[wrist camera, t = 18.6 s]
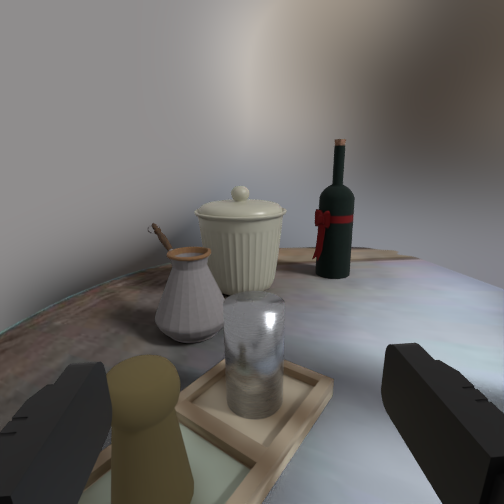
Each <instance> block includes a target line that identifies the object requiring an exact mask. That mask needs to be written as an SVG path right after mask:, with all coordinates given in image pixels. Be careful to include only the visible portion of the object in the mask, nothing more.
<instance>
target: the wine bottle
mask: <svg viewBox="0 0 504 504" xmlns="http://www.w3.org/2000/svg"><path fill="white" fill-rule="evenodd" d="M345 141H346V140H345V139H337V140H335V149H334V166H333V184H332V185H330V186H328V187H327V188H326V189H325V190H324V191H323V192H322V193H321V195H320V200H319V210H318V209H316V211H315V226H318V235H317V243H316V250H315V253H314V256H313V259H314V258H315V257H316V274H317V275H319V276H321V277H325V278H330V279H340V278H346V277H347V276H349V272H350V258H351V243H352V228H353V214H354V195H353V193H352V191H351V190H350V189H349V188H348V187H346V186H344V185H343V172H344V157H345Z"/></svg>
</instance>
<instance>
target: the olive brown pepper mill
mask: <svg viewBox="0 0 504 504" xmlns="http://www.w3.org/2000/svg"><path fill="white" fill-rule="evenodd" d="M106 377H107V382H108V388H109V393H110V398H111V403H112V422H111V426H112V436H111V504H190V503H191V500H192V497H193V494H194V479H193V475H192V472H191V468H190V464H189V460H188V456H187V452H186V449H185V445H184V441H183V437H182V433H181V429H180V425H179V422H178V418H177V414H176V410H175V406H176V404H177V403H178V399H179V394H180V378H179V375H178V373H177V370H176V368H175V366H174V365H173V364H172V363H171V362H170V361H169V360H167V359H166V358H164V357H161V356H158V355H140V356H136V357H132V358H129V359H127V360H124V361H122V362H120V363H119V364H117V365H116V366H114V367H113V368H112V369H111V370H110V371H109V372H108V373H107V374H106Z"/></svg>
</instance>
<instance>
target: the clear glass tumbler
mask: <svg viewBox="0 0 504 504" xmlns="http://www.w3.org/2000/svg"><path fill="white" fill-rule="evenodd" d="M223 319H224V345H225V371H226V397H227V404H228V407H229V408H230V410H231V411H232V412H233V413H235V414H236V415H238V416H240V417H242V418H246V419H252V420H257V419H264V418H267V417H270V416H272V415H273V414H275V413H276V412H277V411H278V410H279V409H280V408H281V406H282V403H283V373H284V321H285V302H284V300H283V299H282V298H281V297H279V296H277V295H275V294H272V293H269V292H263V291H245V292H240V293H236V294H233V295H231V296H229V297H227V298H226V299H225V300H224V302H223Z"/></svg>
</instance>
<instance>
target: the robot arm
mask: <svg viewBox="0 0 504 504" xmlns="http://www.w3.org/2000/svg"><path fill="white" fill-rule="evenodd" d="M381 395H382V401H383V404H384V407H385V410H386V412H387V414H388V415H389V417H390V419H391V420H392V422H393V424H394V425H395V427H396V428H397V430H398V432H399V433H400V435H401V437H402V438H403V440H404V442H405V443H406V445H407V446H408V448H409V450H410V451H411V453H412V455H413V456H414V458H415V460H416V461H417V463H418V464H419V466H420V468H421V469H422V471H423V473H424V474H425V476H426V478H427V479H428V481H429V482H430V484H431V486H432V487H433V489H434V491H435V492H436V494H437V496H438V497H439V499H440V501H441V502H442V504H504V414H503V413H502V412H501V411H500V410H499V409H498V408H497V407H496V406H495V405H494V404H493V403H492V402H488V399H487V398H486V397H485V396H484V395H483V394H482V393H481V392H480V391H479V390H478V389H475V388H474V385H473V384H472V383H470V382H469V381H468V380H467V379H466V378H465V377H464V376H463V375H462V374H461V373H460V372H459V371H457V370H455V369H454V368H452V367H450V366H448V365H447V364H445V363H443V362H442V361H440V360H434V359H433V358H432V357H431V356H430V355H429V354H428V353H427V352H426V351H425V350H424V349H423V348H422V347H421V346H420V345H419V344H417V343H405V344H390V345H388V346H387V348H386V352H385V360H384V369H383V377H382V386H381ZM111 422H112V403H111V398H110V393H109V388H108V382H107V377H106V372H105V367H104V365H103V363H102V362H87V363H72V364H70V365H68V367H67V368H66V369H65V370H64V372H63V373H62V374H61V375H60V377H59V378H58V379H57V381H56V382H55V383H54V384H50V385H46V386H45V387H44V388H42V389H41V390H40V391H38V392H37V393H36V394H34V395H33V396H32V397H30V398H29V399H28V400H27V401H26V402H25V403H24V404H23V405H22V407H21V408H20V409H19V410H18V411H17V413H16V414H15V415H14V416H13V417H12V421H9V422H8V423H7V425H6V426H5V427H4V428H3V429H2V431H1V432H0V504H78V502H79V500H80V497H81V495H82V493H83V490H84V488H85V486H86V484H87V481H88V479H89V477H90V474H91V472H92V470H93V468H94V465H95V463H96V461H97V458H98V456H99V454H100V452H101V449H102V447H103V445H104V442H105V440H106V438H107V436H108V433H109V430H110V427H111Z"/></svg>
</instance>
